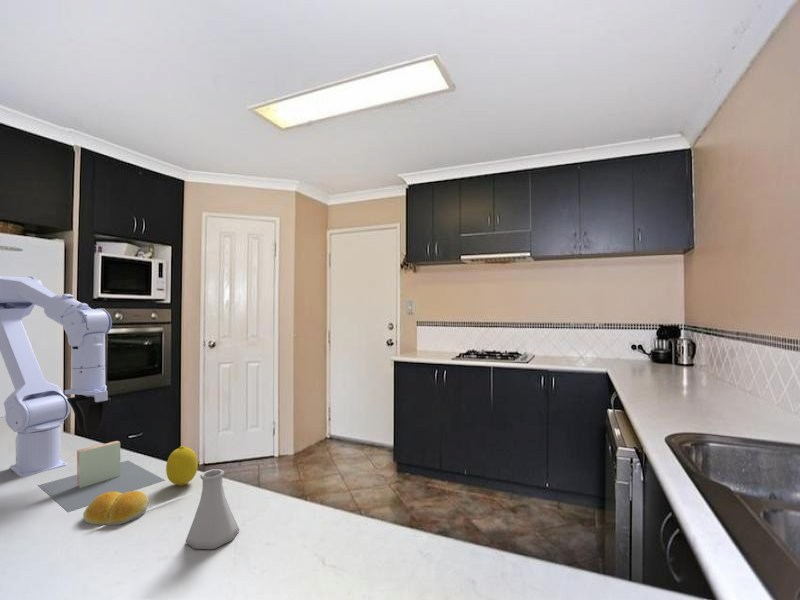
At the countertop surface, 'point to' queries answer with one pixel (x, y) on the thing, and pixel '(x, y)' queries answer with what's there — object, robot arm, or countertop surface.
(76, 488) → the mat
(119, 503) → the bread roll
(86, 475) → the tile
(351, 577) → the countertop surface
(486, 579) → the countertop surface
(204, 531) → the flask
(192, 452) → the lemon
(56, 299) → the robot arm
